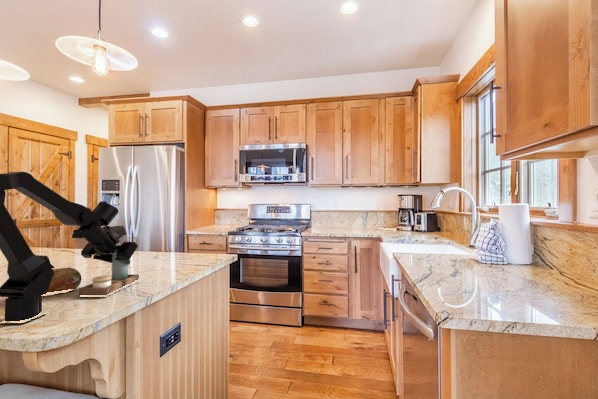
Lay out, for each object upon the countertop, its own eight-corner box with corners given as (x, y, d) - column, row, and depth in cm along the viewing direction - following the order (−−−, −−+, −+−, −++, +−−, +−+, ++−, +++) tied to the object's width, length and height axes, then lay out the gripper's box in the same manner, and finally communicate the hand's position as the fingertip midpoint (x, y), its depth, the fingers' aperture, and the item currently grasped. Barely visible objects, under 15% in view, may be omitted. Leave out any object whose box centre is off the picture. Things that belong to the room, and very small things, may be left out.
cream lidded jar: (104, 296, 90) (104, 279, 90) (88, 296, 90) (88, 279, 90) (115, 291, 95) (115, 275, 95) (100, 291, 95) (100, 275, 95)
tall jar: (124, 285, 99) (125, 245, 100) (108, 286, 98) (109, 246, 99) (130, 281, 104) (131, 243, 105) (114, 282, 103) (115, 244, 104)
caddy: (105, 298, 88) (105, 288, 88) (78, 297, 88) (79, 288, 88) (138, 282, 106) (138, 274, 106) (116, 282, 106) (116, 274, 106)
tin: (19, 300, 86) (19, 273, 86) (20, 298, 88) (21, 271, 88) (81, 291, 95) (81, 266, 96) (80, 289, 98) (81, 265, 98)
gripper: (134, 218, 96) (156, 246, 107) (89, 218, 100) (114, 245, 110) (114, 244, 88) (140, 271, 99) (66, 243, 92) (96, 269, 102)
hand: (123, 263), depth 103 cm, fingers closed on tall jar, 5 cm apart
